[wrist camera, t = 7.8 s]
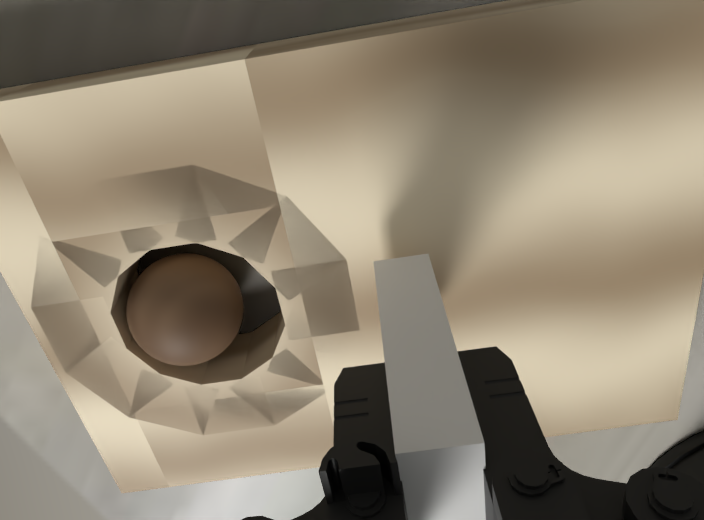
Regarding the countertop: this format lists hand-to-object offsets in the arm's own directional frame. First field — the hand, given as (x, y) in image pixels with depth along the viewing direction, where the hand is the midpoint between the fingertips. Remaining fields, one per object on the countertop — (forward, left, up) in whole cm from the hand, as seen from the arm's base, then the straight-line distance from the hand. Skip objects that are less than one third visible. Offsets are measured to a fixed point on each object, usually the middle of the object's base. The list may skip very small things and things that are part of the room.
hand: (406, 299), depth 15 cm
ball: (0, -7, -2) cm, 7 cm away
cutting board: (0, -1, -3) cm, 4 cm away
